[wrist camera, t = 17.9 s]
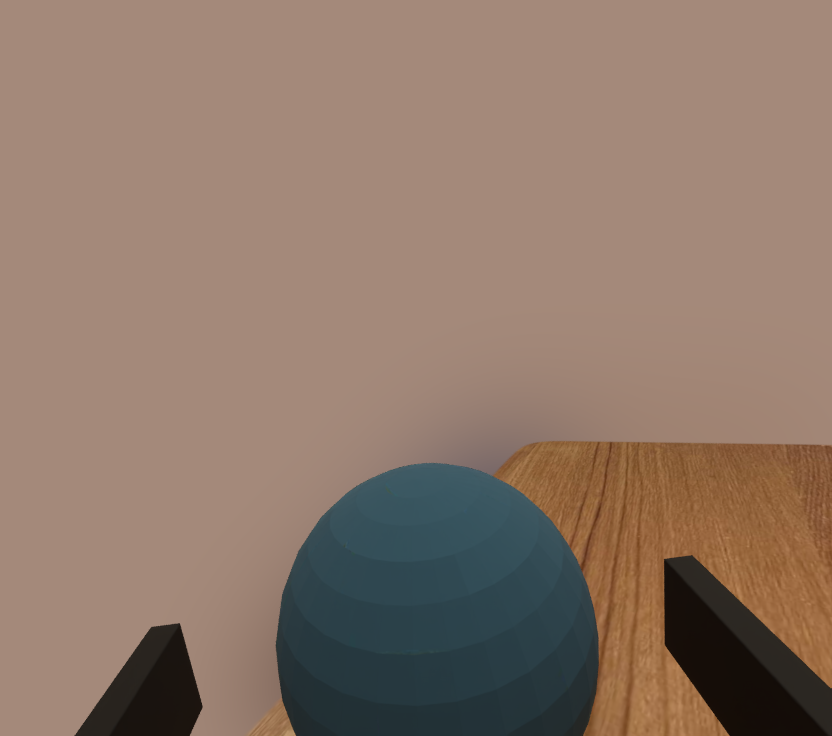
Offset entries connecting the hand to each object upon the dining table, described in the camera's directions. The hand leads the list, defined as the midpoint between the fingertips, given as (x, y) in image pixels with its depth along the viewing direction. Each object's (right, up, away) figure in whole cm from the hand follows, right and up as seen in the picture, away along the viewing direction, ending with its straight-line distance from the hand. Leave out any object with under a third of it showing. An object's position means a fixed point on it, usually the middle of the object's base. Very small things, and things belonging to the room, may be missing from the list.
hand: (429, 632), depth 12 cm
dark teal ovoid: (+1, -7, +2) cm, 8 cm away
